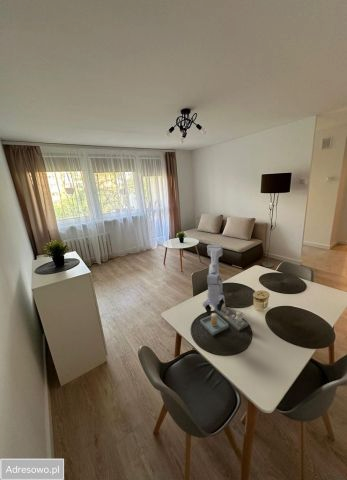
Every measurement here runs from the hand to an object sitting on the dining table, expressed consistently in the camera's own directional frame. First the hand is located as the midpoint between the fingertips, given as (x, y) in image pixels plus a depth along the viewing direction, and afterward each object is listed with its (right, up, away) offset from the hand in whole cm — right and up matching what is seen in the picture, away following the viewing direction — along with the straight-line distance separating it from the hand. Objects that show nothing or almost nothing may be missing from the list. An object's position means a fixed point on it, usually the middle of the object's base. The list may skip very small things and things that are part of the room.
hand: (213, 312), depth 113 cm
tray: (+1, -9, +3) cm, 9 cm away
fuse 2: (+16, -7, +1) cm, 17 cm away
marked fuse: (+1, -8, +2) cm, 9 cm away
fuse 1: (+9, -3, +14) cm, 17 cm away
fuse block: (+12, -6, +8) cm, 16 cm away
